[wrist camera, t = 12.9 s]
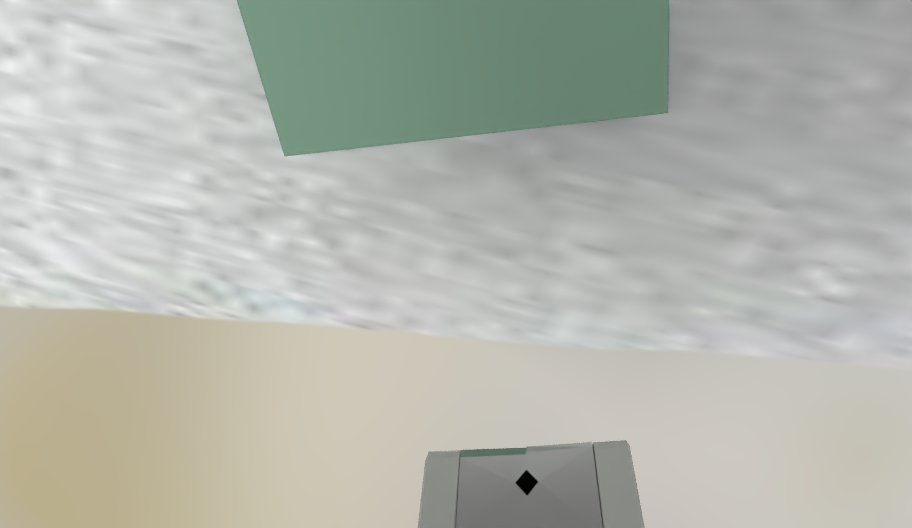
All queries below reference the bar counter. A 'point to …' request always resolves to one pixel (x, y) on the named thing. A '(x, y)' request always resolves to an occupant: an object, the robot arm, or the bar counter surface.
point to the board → (452, 66)
